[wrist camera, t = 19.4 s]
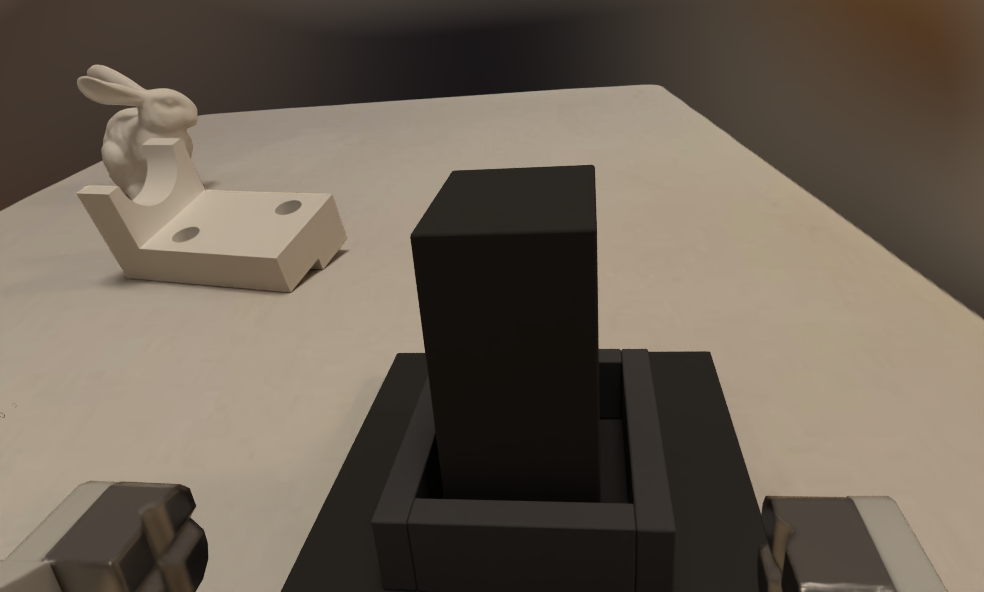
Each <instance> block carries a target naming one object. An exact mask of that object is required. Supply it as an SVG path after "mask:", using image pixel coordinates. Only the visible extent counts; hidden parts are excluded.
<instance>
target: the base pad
mask: <svg viewBox="0 0 984 592" xmlns="http://www.w3.org/2000/svg"><path fill="white" fill-rule="evenodd" d="M599 417H600V487H601V503H585V502H543V501H502V500H461V499H444V494H443V486H442V479H441V471H440V463H439V455H438V447H437V440H436V432H435V424H434V416H433V409H432V401H431V393H430V385H429V378H428V370H427V362H426V354H425V353H398V354H397V355H396V357H395V360H394V362H393V364H392V366H391V368H390V370H389V372H388V374H387V376H386V378H385V380H384V382H383V384H382V386H381V388H380V390H379V392H378V394H377V396H376V398H375V400H374V402H373V404H372V406H371V409H370V411H369V413H368V415H367V417H366V419H365V421H364V423H363V425H362V427H361V429H360V431H359V433H358V435H357V437H356V439H355V441H354V443H353V445H352V447H351V449H350V451H349V453H348V455H347V457H346V460H345V462H344V464H343V466H342V468H341V470H340V472H339V474H338V476H337V478H336V480H335V482H334V484H333V486H332V488H331V490H330V492H329V494H328V496H327V498H326V500H325V502H324V504H323V506H322V509H321V511H320V513H319V515H318V517H317V519H316V521H315V523H314V525H313V527H312V529H311V531H310V533H309V535H308V537H307V539H306V541H305V543H304V545H303V547H302V549H301V551H300V553H299V555H298V557H297V560H296V562H295V564H294V566H293V568H292V570H291V572H290V574H289V576H288V578H287V580H286V582H285V584H284V586H283V588H282V590H281V592H759V589H758V574H757V560H758V546H759V545H760V544H761V543H762V542H763V541H764V540H766V539H767V538H766V535H765V532H764V528H763V525H762V522H761V513H760V509H759V506H758V503H757V500H756V497H755V494H754V490H753V487H752V484H751V481H750V478H749V474H748V471H747V468H746V465H745V462H744V458H743V455H742V452H741V449H740V446H739V442H738V439H737V436H736V433H735V430H734V427H733V423H732V420H731V417H730V414H729V411H728V407H727V404H726V401H725V398H724V395H723V391H722V388H721V385H720V382H719V379H718V375H717V372H716V369H715V366H714V363H713V360H712V356H711V353H710V352H648V350H647V349H622V351H621V350H620V349H599Z"/></svg>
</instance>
